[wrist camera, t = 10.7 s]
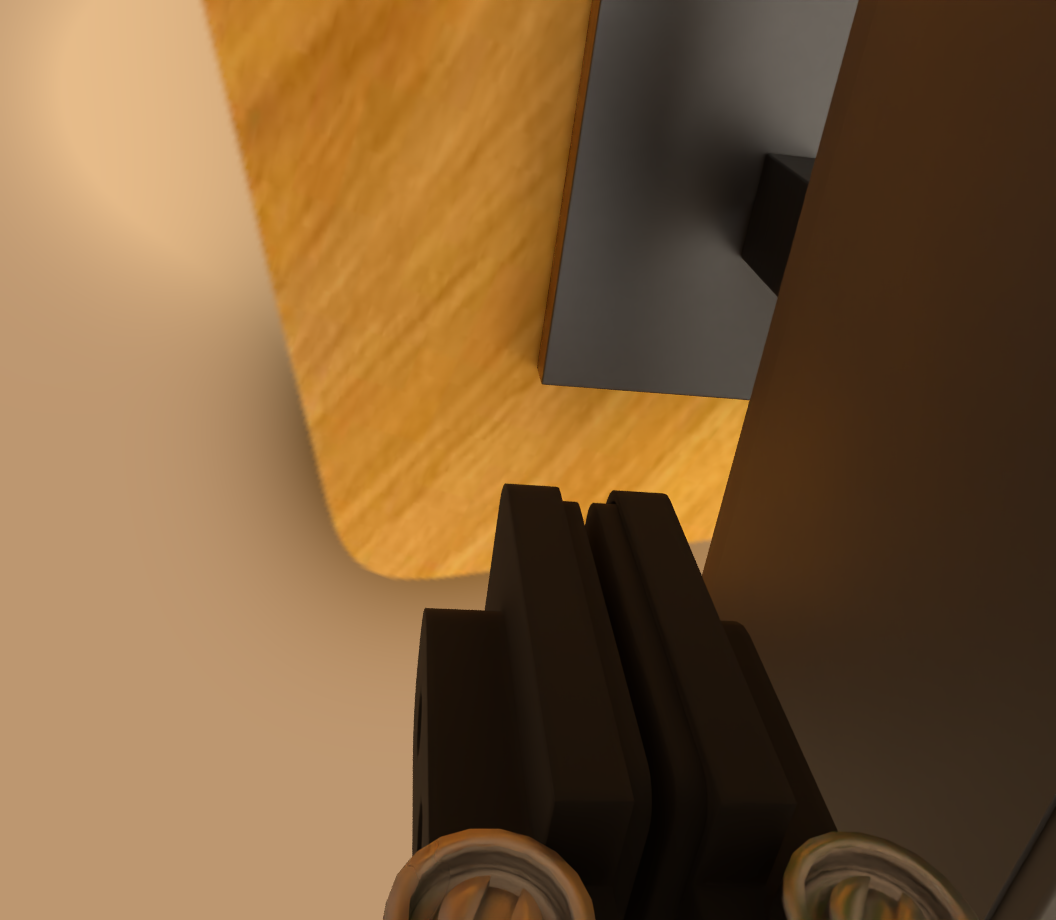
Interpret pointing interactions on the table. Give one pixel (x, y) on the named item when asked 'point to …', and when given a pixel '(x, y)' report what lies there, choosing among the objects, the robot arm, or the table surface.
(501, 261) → the table surface
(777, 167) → the monitor stand
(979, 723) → the monitor screen
